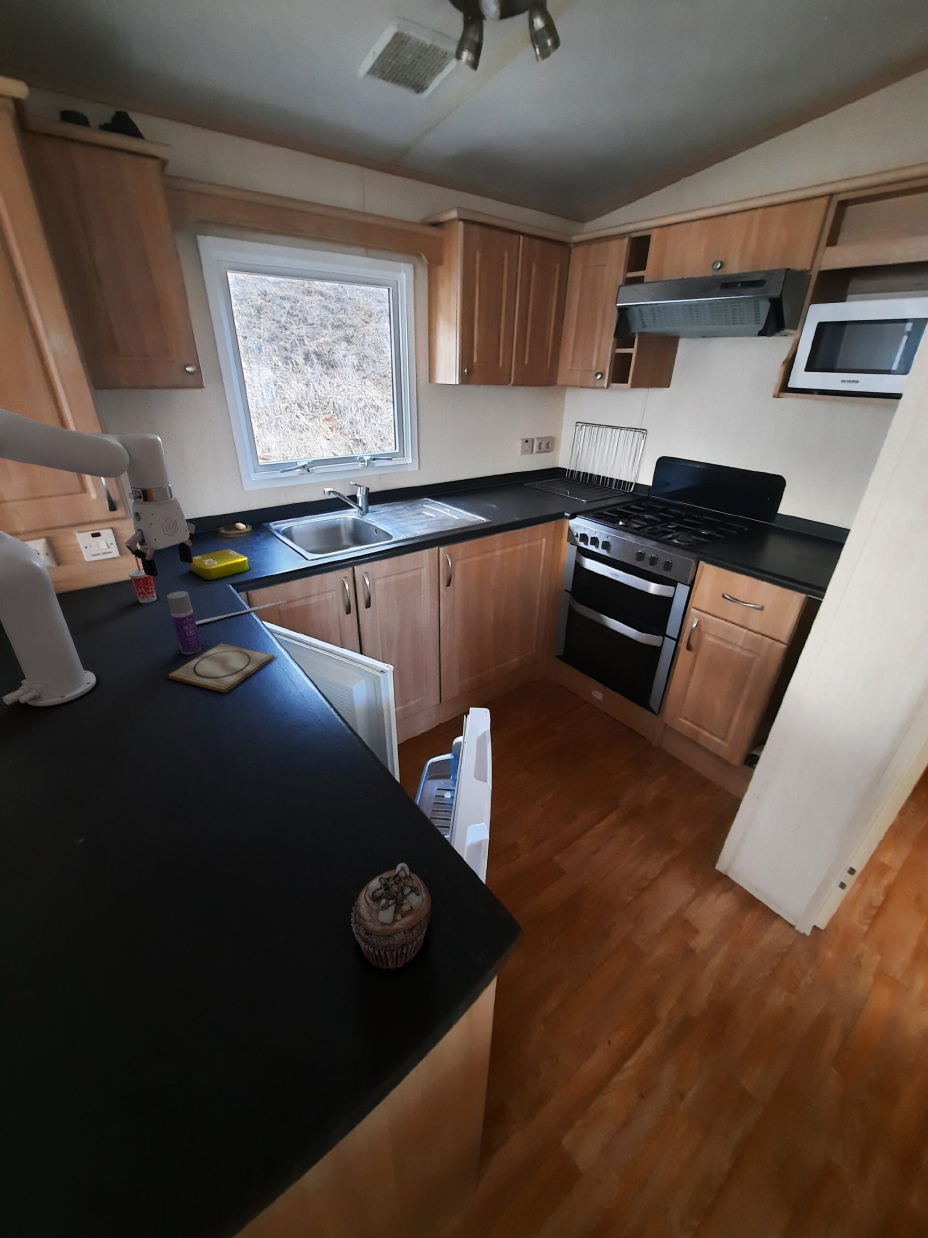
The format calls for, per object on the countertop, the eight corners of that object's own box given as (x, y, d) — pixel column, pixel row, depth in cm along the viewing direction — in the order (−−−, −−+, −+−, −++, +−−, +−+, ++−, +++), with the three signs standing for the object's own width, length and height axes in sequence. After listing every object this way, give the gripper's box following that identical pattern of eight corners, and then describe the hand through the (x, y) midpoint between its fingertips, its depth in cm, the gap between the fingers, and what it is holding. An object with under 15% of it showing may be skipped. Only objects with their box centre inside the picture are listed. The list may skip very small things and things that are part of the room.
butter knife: (187, 621, 139) (189, 625, 137) (284, 599, 154) (287, 602, 152) (187, 623, 139) (190, 627, 137) (284, 601, 154) (288, 604, 152)
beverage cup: (164, 598, 154) (152, 554, 148) (144, 605, 149) (131, 560, 143) (151, 594, 157) (139, 551, 150) (131, 601, 152) (118, 557, 145)
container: (193, 655, 124) (179, 599, 118) (176, 653, 125) (161, 597, 118) (205, 646, 128) (192, 591, 122) (189, 644, 129) (175, 590, 122)
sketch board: (225, 693, 110) (224, 688, 110) (169, 678, 115) (168, 673, 114) (273, 658, 124) (273, 654, 123) (222, 646, 128) (221, 642, 128)
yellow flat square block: (251, 569, 177) (249, 556, 175) (208, 581, 167) (205, 567, 165) (231, 559, 186) (228, 547, 184) (189, 570, 176) (186, 556, 173)
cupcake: (402, 886, 70) (399, 835, 65) (446, 941, 63) (446, 888, 59) (339, 931, 64) (332, 878, 60) (381, 996, 58) (376, 942, 53)
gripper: (129, 503, 101) (149, 583, 108) (198, 488, 116) (211, 559, 123) (102, 499, 103) (123, 578, 111) (173, 485, 118) (187, 555, 125)
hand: (170, 568), depth 117 cm, fingers open, 9 cm apart
